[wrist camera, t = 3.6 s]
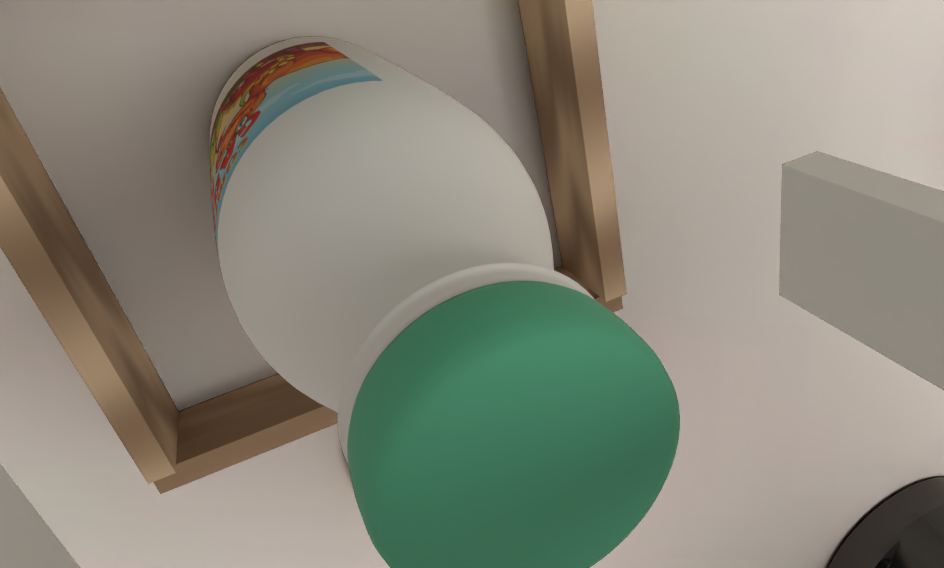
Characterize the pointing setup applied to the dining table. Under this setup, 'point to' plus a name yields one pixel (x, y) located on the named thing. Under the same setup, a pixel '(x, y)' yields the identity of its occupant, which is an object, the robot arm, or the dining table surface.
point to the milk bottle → (431, 316)
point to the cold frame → (274, 399)
